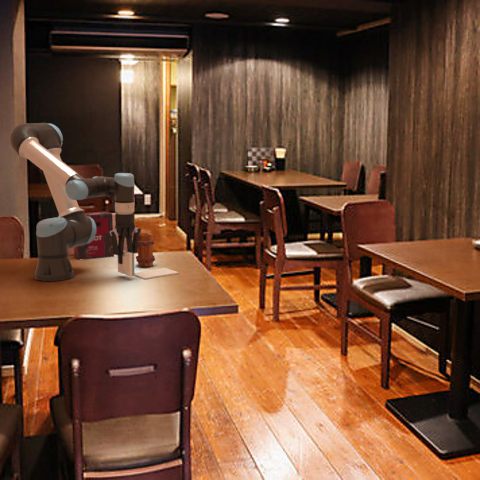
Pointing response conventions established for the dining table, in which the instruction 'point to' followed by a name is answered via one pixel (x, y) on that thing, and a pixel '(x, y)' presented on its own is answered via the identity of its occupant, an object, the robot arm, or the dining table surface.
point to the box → (98, 238)
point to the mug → (145, 249)
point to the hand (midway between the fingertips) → (125, 271)
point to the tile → (128, 264)
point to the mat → (155, 273)
